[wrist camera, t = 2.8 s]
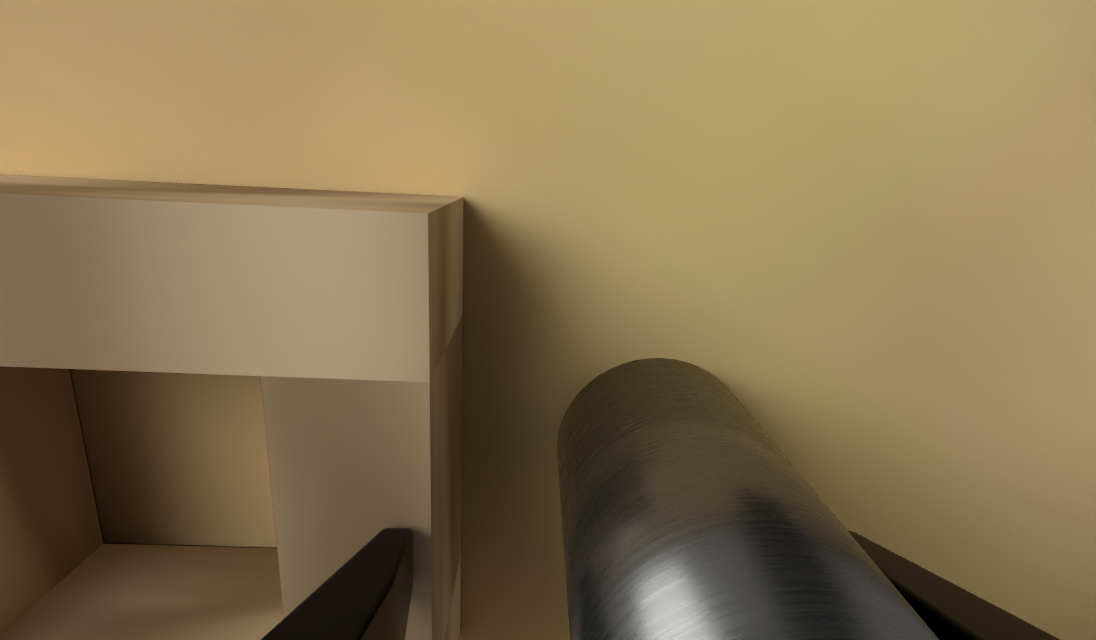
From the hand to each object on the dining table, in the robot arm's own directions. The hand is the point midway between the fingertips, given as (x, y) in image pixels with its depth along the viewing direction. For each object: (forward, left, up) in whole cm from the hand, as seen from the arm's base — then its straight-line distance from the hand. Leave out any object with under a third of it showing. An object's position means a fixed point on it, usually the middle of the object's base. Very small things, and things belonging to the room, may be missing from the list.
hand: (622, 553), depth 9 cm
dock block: (+8, 0, -3) cm, 9 cm away
